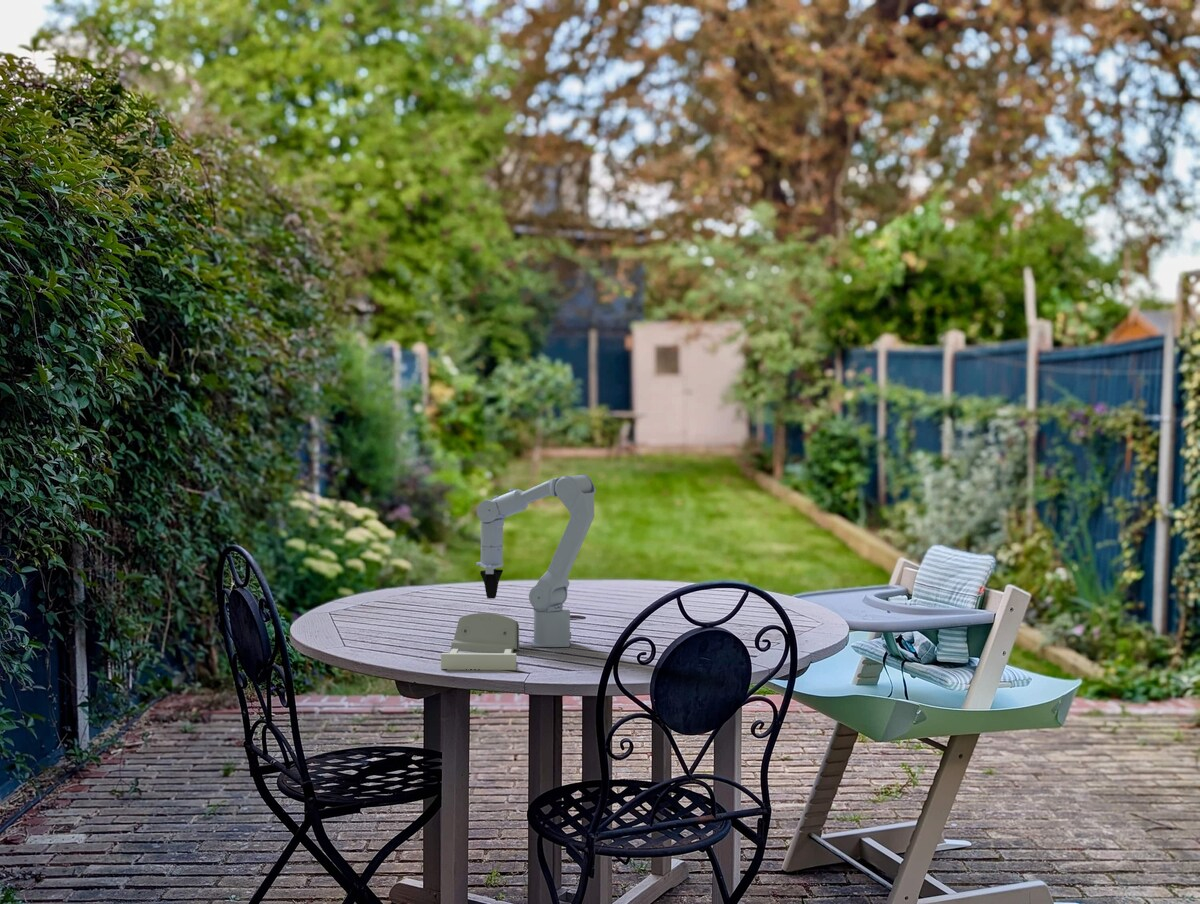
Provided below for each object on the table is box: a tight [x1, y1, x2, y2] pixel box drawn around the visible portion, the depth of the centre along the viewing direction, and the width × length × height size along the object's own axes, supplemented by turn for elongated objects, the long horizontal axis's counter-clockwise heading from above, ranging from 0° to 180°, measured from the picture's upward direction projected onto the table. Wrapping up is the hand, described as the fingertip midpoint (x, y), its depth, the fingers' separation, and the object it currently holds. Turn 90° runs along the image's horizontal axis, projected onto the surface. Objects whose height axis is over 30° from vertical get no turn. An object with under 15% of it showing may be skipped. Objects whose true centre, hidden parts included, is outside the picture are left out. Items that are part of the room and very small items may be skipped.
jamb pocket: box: [440, 648, 517, 671], centre depth 261 cm, size 17×8×4 cm, turn 91°
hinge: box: [450, 612, 520, 653], centre depth 280 cm, size 17×5×10 cm, turn 75°
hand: (491, 598), depth 293 cm, fingers closed
